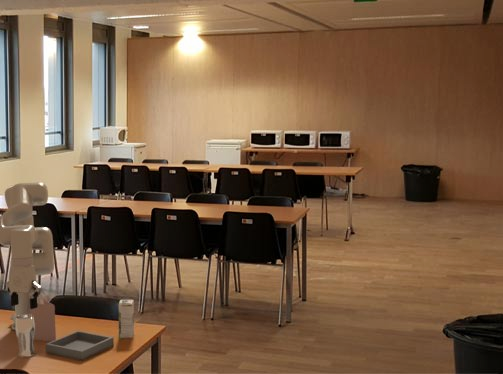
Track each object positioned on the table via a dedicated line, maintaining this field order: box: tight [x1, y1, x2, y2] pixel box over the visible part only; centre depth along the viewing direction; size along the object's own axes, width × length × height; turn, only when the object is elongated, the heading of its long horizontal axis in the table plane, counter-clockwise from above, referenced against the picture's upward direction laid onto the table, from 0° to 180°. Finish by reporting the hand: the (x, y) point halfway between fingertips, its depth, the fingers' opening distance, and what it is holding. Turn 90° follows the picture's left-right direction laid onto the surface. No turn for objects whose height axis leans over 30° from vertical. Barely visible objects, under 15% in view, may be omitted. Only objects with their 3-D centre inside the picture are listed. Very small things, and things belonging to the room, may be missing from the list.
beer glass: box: [15, 314, 36, 359], centre depth 271 cm, size 7×7×15 cm
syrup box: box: [118, 299, 135, 339], centre depth 292 cm, size 6×6×14 cm
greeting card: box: [30, 298, 57, 342], centre depth 288 cm, size 11×7×15 cm, turn 37°
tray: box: [45, 330, 115, 361], centre depth 277 cm, size 18×18×4 cm
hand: (24, 306), depth 269 cm, fingers open, 9 cm apart
